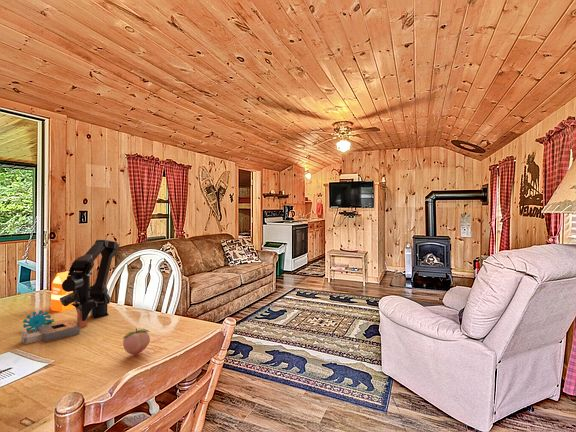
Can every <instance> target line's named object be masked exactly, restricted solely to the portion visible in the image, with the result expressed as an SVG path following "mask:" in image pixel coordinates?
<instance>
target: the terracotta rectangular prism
mask: <svg viewBox="0 0 576 432" xmlns="http://www.w3.org/2000/svg"><path fill="white" fill-rule="evenodd" d="M76 313H77V317H76V318H77V319H76V320H77V321H76V322H77V323H76V324H77V325H79V329H81V328H85V327H88V318H87V319H86V320H85V321H82V315H81V310H79V309H78V307H77V310H76Z"/></svg>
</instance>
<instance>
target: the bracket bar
mask: <svg viewBox="0 0 576 432" xmlns="http://www.w3.org/2000/svg"><path fill="white" fill-rule="evenodd" d="M39 341H43V334H42V333H41V332H37V331H35V332H31V333H28V331H27V330H26V328H22V329H21V343H22V344H23V345H24V346H25V345H29V344H31V343H36V342H39Z"/></svg>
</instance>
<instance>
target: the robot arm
mask: <svg viewBox="0 0 576 432" xmlns="http://www.w3.org/2000/svg"><path fill="white" fill-rule="evenodd" d="M119 248H120V243H119V242H117V241H115V240H108V239H101V238H100V239H96V240H95V242H94V244H93V245H92V246H91V247H90V248H89V249H88V250H87V251H86V253H85V254H84V255H81V256H78V257H77V258H75V259H74V260H73V262H72V264H71V266H70V268H69V270H68V271H69V273H68V276H67V279H66V280H64V281H63V283H62V289H63V290H64V291H66V292H71V291H73V293H70V294H68V295H66V296H63V297H61V298H60V301H61V304H62V305H63V306H68V305H69V304H71V303H73V304H71V305H73V306H74V307H75V308H74V309H75V311H77V307H78V309H79V310H81V315H82V321H85V320H86V319H87V320H88V317H89V315H90V317H92V318H94V319H97V318H101V317H106V316H109V313H108V304H109V305H110V302H111V299H112V298H111V296H110V295H109V293H108V292H109V289H108V287H107V282H108V281H107V280H108V277H109V272H110V269H111V264H112V261H113V260H112V259H113V258H114V257H115V256H116V255H117V254H118V251H119ZM100 254H101V259H100V261H99V262H100V263H99V267H98V270H97V273H96V278H95V281H94V284H93V285H91V284H90V283H91V275H93V273H92V270H93V268H94V266H95V260H96V259H97V258H98V256H99V255H100Z"/></svg>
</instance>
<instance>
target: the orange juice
mask: <svg viewBox="0 0 576 432" xmlns="http://www.w3.org/2000/svg"><path fill="white" fill-rule="evenodd" d="M68 273H69V270H67V271H63V272H58V273H56V275H55V277H54V279H53V280H52V282H51V295H50V296H51V298H50V299H51V311H53V312H60V313H63V312H66V311H69V310H73V309H76V308H75V307H74V306H73V305H71V304H73V303H71V304H69V305H68V306H63V305H62V304H61V301H60V298H61V297H63V296H66V295H68V294H70V293H73V291H71V292H66V291H64V290H63V289H62V283H63V281H64V280H66V279H67V276H68Z"/></svg>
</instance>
